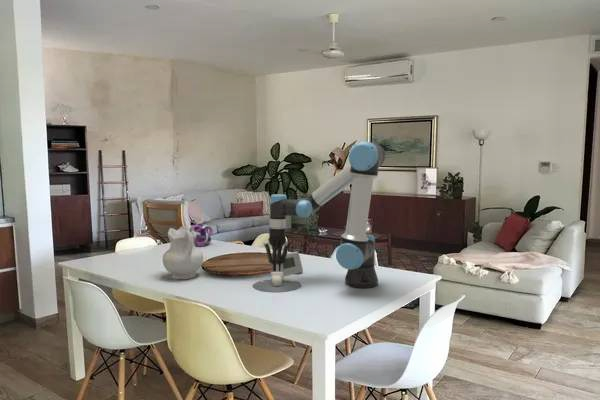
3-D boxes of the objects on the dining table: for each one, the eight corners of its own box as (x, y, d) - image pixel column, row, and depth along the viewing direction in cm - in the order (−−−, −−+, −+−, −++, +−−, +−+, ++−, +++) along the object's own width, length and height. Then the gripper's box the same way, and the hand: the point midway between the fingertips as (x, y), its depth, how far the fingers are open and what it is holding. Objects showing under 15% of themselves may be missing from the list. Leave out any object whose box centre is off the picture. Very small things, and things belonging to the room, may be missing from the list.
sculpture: (184, 248, 311) (189, 242, 293) (188, 224, 316) (193, 217, 299) (207, 251, 316) (213, 245, 298) (210, 227, 322) (216, 221, 304)
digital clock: (278, 279, 222) (278, 257, 221) (269, 275, 230) (269, 253, 229) (307, 274, 231) (306, 253, 230) (297, 270, 238) (297, 250, 237)
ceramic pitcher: (213, 279, 225) (215, 228, 225) (178, 284, 211) (180, 230, 210) (188, 272, 240) (190, 224, 239) (154, 276, 226) (156, 225, 225)
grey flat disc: (311, 286, 209) (311, 284, 209) (278, 297, 192) (278, 295, 192) (276, 278, 223) (276, 276, 223) (242, 287, 207) (242, 285, 207)
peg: (281, 286, 205) (281, 273, 205) (270, 285, 206) (270, 273, 206) (287, 278, 218) (287, 267, 218) (276, 278, 219) (276, 266, 218)
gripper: (286, 226, 219) (285, 275, 220) (261, 227, 214) (260, 277, 215) (293, 228, 212) (291, 279, 214) (267, 229, 207) (266, 281, 208)
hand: (276, 278), depth 214 cm, fingers closed
